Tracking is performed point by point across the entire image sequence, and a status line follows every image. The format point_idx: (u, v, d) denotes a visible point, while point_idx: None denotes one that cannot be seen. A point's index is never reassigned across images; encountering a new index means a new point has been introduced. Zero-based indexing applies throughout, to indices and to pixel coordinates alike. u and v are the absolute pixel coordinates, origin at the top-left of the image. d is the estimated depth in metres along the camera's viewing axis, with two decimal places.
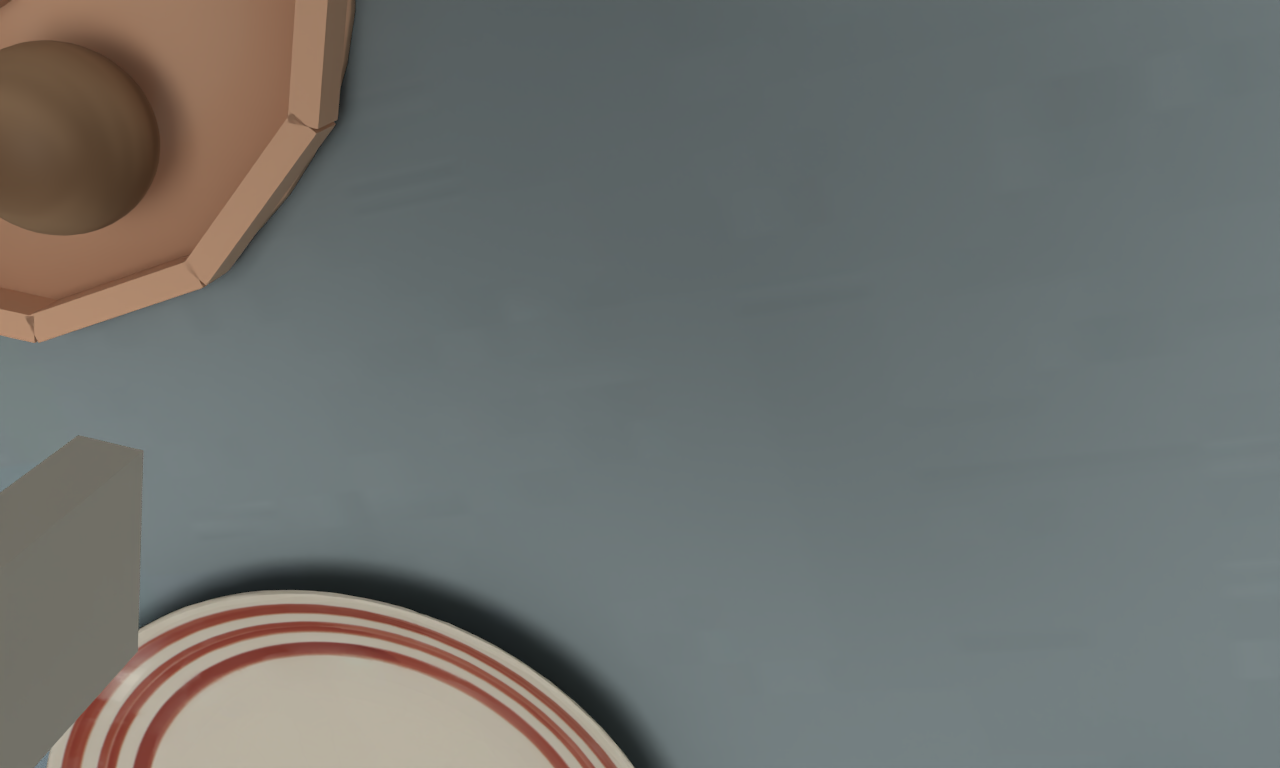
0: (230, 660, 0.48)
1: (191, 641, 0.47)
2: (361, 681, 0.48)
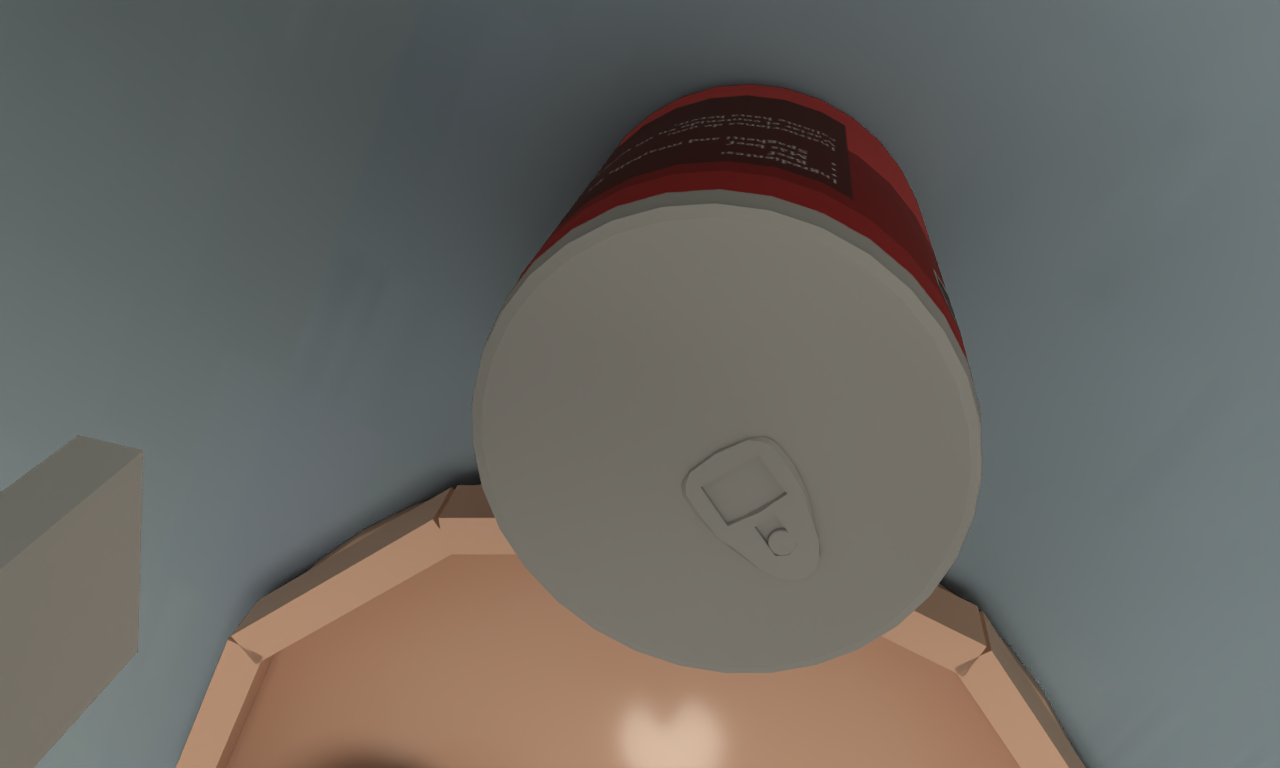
0: None
1: None
2: None
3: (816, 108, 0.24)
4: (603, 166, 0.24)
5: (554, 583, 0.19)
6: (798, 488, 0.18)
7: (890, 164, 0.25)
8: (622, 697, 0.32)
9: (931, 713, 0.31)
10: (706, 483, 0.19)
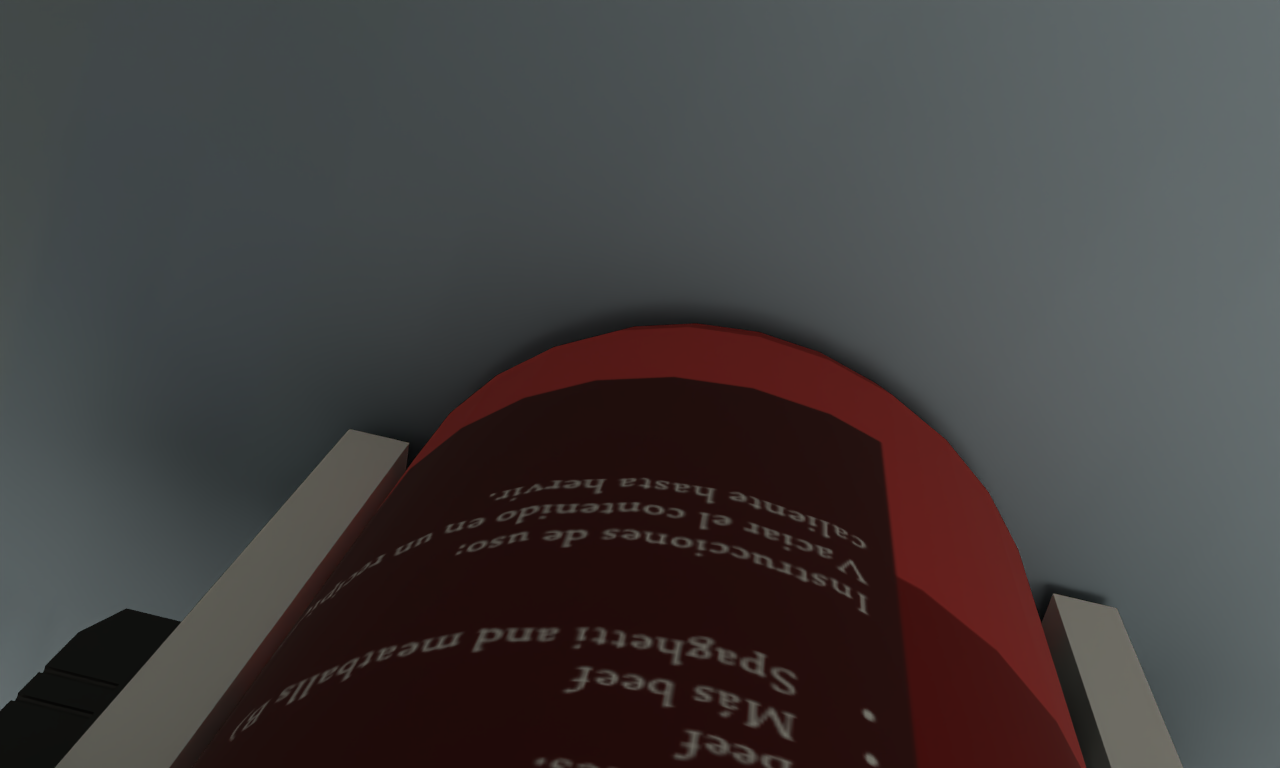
0: None
1: None
2: None
3: (820, 403, 0.12)
4: (349, 554, 0.11)
5: None
6: None
7: (975, 516, 0.12)
8: None
9: None
10: None
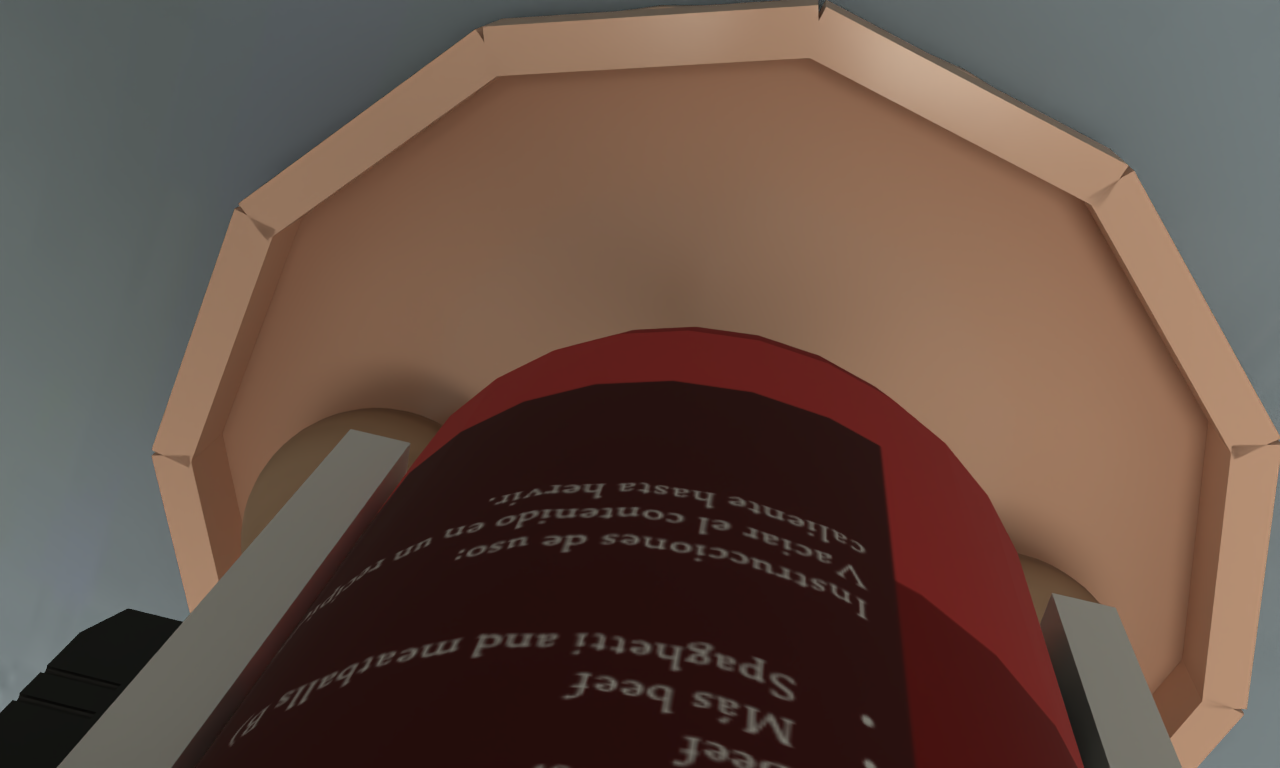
0: None
1: None
2: None
3: (819, 407, 0.12)
4: (348, 558, 0.11)
5: None
6: None
7: (974, 519, 0.12)
8: (688, 294, 0.28)
9: (1049, 296, 0.27)
10: None
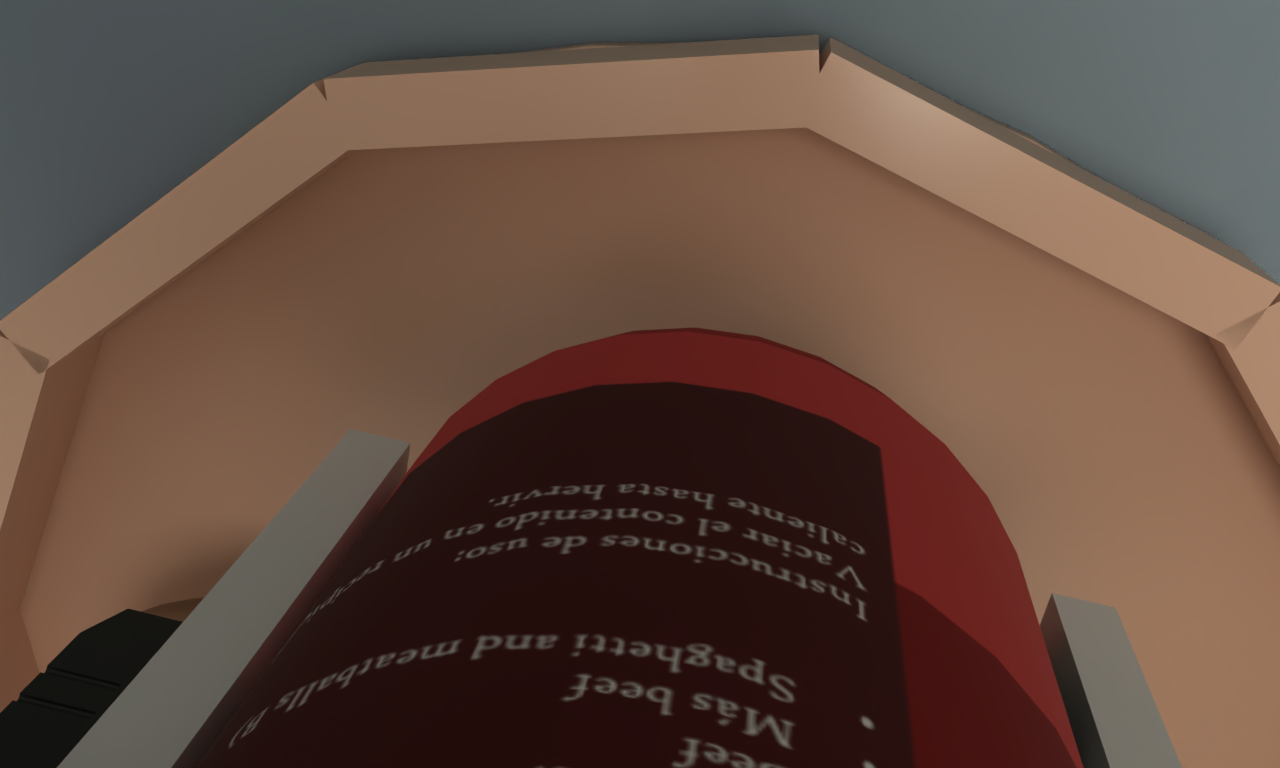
0: None
1: None
2: None
3: (819, 408, 0.12)
4: (348, 559, 0.11)
5: None
6: None
7: (974, 521, 0.12)
8: None
9: (1146, 453, 0.19)
10: None
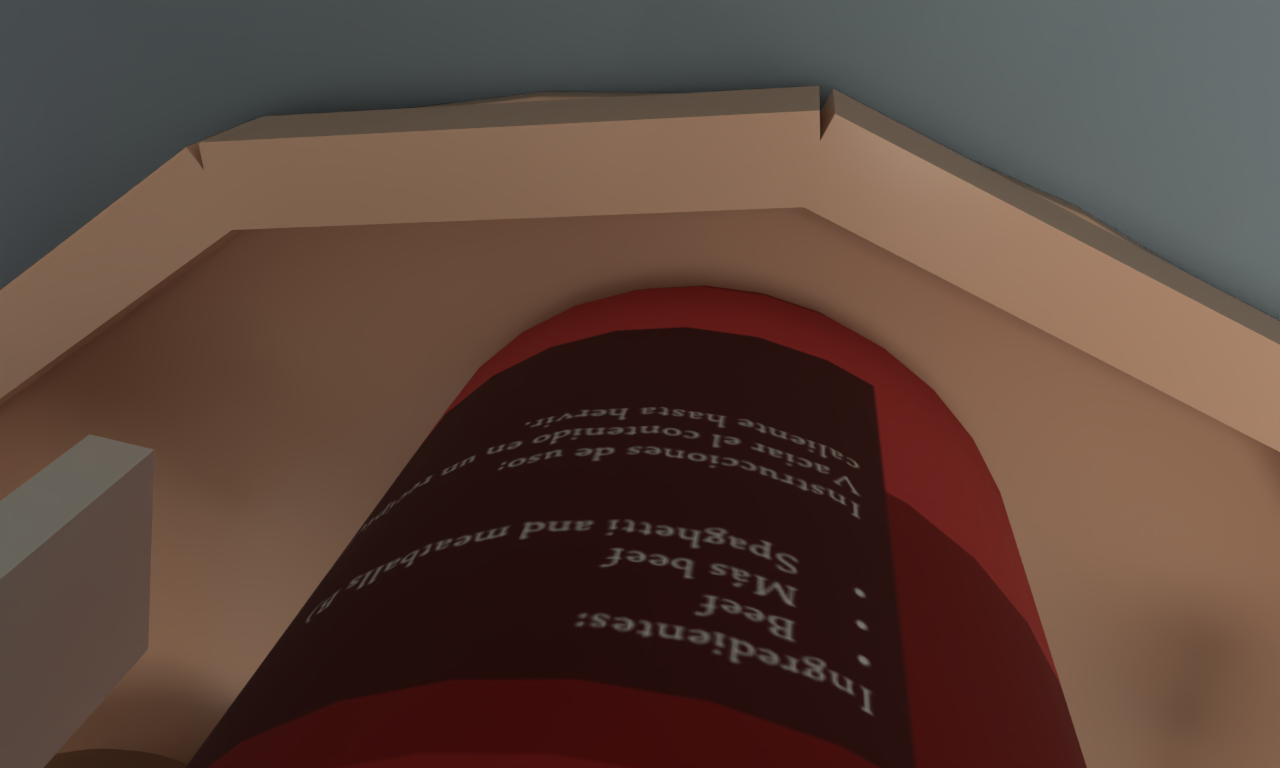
0: None
1: None
2: None
3: (818, 351, 0.13)
4: (396, 482, 0.12)
5: None
6: None
7: (959, 454, 0.13)
8: None
9: (1219, 592, 0.16)
10: None
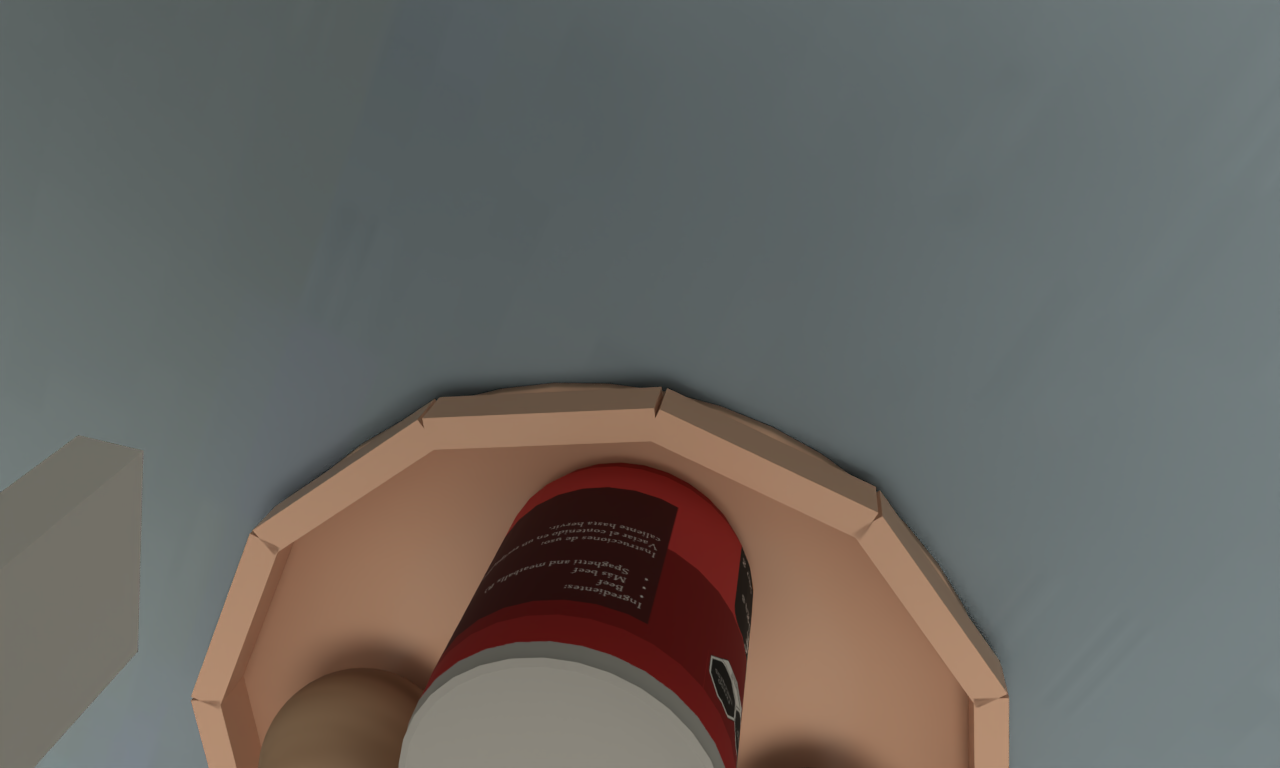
0: None
1: None
2: None
3: (658, 494, 0.34)
4: (503, 548, 0.33)
5: None
6: None
7: (713, 532, 0.34)
8: None
9: (843, 584, 0.37)
10: None
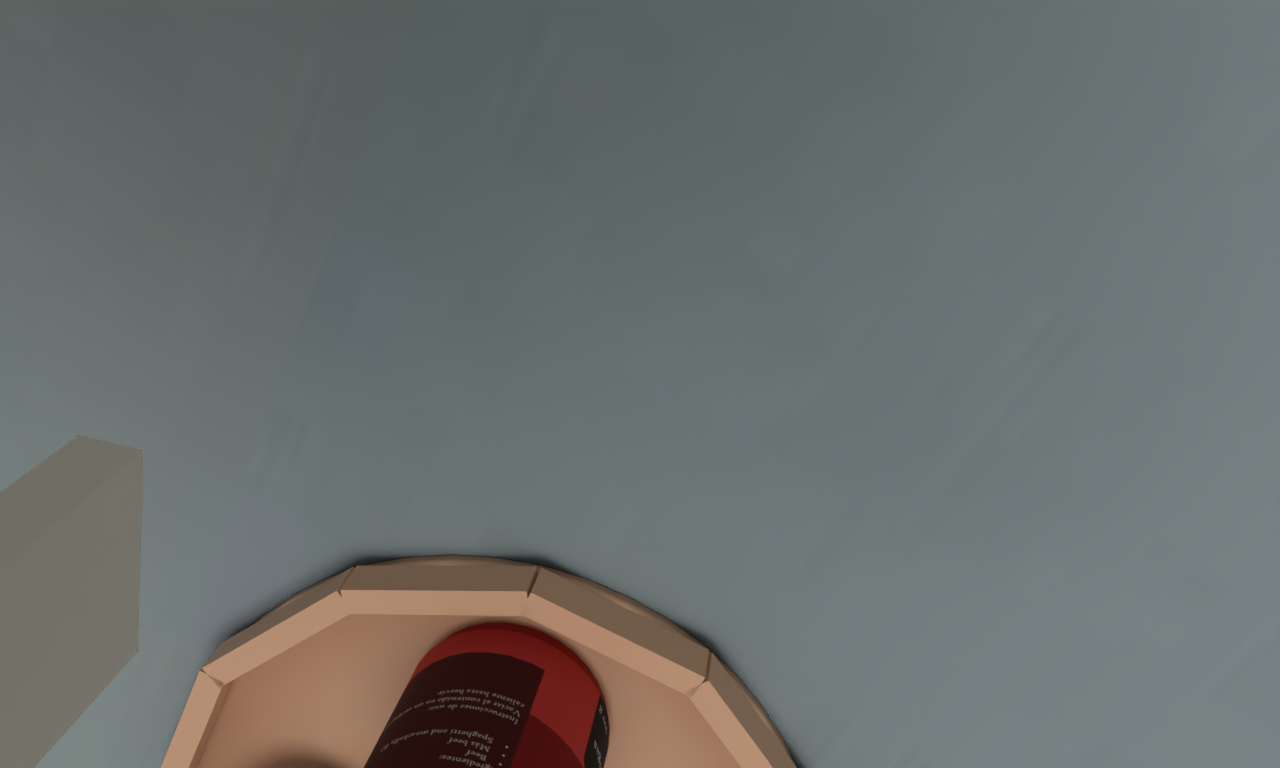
0: None
1: None
2: None
3: (529, 659, 0.43)
4: (402, 703, 0.42)
5: None
6: None
7: (573, 689, 0.43)
8: None
9: (685, 723, 0.45)
10: None
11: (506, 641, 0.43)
